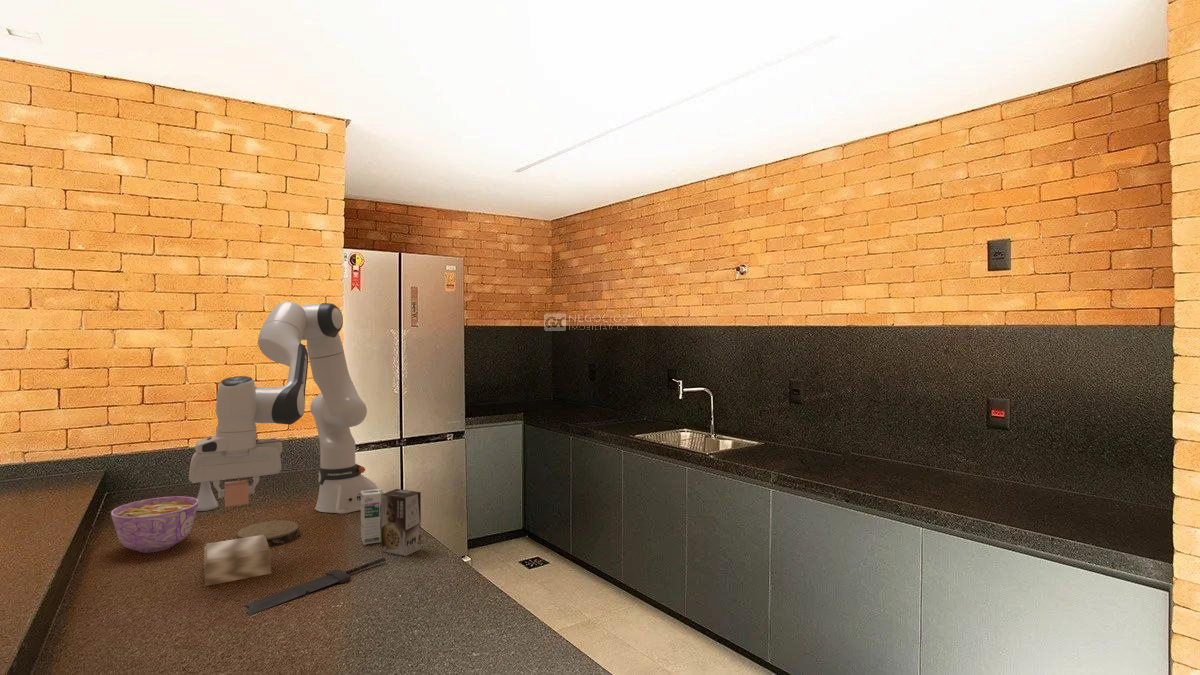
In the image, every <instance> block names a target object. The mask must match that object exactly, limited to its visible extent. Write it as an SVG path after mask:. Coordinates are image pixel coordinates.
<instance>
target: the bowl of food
mask: <svg viewBox="0 0 1200 675" xmlns="http://www.w3.org/2000/svg"><path fill="white" fill-rule="evenodd" d="M198 503H199V501H198V499H197V497H193V496H178V495H177V496H174V495H173V496H163V497H161V496H160V497H155V498H154V497H153V498H148V499H142V500H137V501H133V502H129V503H126V504H122V505H119V506H118V507H115V508H114V509H112V510H111V511H110V516H111V519H112V523H113V525H114V529H115V533H116V535H117V538H118V540H119V542H120V543H121V544H122V545H123V546H124V547H125V548H127V549H130V550H133V551H138V552H140V553H149V554H150V553H156V552H161V551H165V550H169V549H171V548H172V547H174V546H175V545H177V544H178V543H180V542H181V541H182V540H184V539H185V538H187V536H189V534H190V532H191V530H192V528H193V525H194V522H195V518H196V514H197V512H198V511H197V508H198Z"/></svg>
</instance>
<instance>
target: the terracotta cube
mask: <svg viewBox="0 0 1200 675" xmlns="http://www.w3.org/2000/svg"><path fill="white" fill-rule="evenodd" d="M249 486H250V484H249V481H248V479H245V480H235V481H224V489H225V497H224V505H225V507H226V508H227V507H233V506H234V507H235V506H242V505H249V499H250V498H249V496H250V494H249Z"/></svg>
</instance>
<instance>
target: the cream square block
mask: <svg viewBox="0 0 1200 675" xmlns="http://www.w3.org/2000/svg"><path fill="white" fill-rule="evenodd" d="M205 544H206V545H205V546H204V547H203V554H204V556H203V562H204V563H203V565H204V567H203V568H204V569H203V570H204V571H203V572H204V586H205V587H208V586H213V585H218V584H223V583H228V582H234V581H238V580H239V581H241V580H243V579H244V580H245V579H248V578H255V577H260V576H265V575H266V576H267V575H270V574H272V552H271V548H270V547H269V545H268V542H267V539H266V537H264V535H258V536H252V537H246V538H239V539H237V538H235V539H227V540H222V541H215V542H214V541H213V542H208V543H205Z"/></svg>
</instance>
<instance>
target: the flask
mask: <svg viewBox="0 0 1200 675" xmlns="http://www.w3.org/2000/svg"><path fill="white" fill-rule="evenodd" d="M199 486H200V488H199V491H198V494H197V496H196V499H198V501H199V503H198V508H197V511H196V512H208V511H211V510H216V509H217V508H218V507H220V504H219V503H218V501H217V499H216V497H215V495H214V492H213V490H212V485H211V481H208V482H200V485H199Z"/></svg>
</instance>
